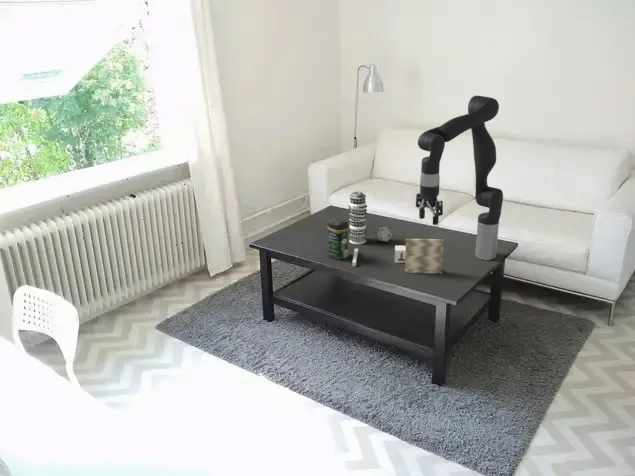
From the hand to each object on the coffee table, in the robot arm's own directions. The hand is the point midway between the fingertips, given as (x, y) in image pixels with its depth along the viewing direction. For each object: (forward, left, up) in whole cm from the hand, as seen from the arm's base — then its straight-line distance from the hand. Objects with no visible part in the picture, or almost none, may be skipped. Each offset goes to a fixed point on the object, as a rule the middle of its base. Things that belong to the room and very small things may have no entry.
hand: (428, 221), depth 245 cm
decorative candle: (-20, -51, -27) cm, 61 cm away
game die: (-27, -40, -27) cm, 55 cm away
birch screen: (-8, -6, -27) cm, 29 cm away
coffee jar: (+1, -47, -27) cm, 54 cm away
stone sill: (-1, -38, -27) cm, 47 cm away
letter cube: (-13, -21, -27) cm, 37 cm away
